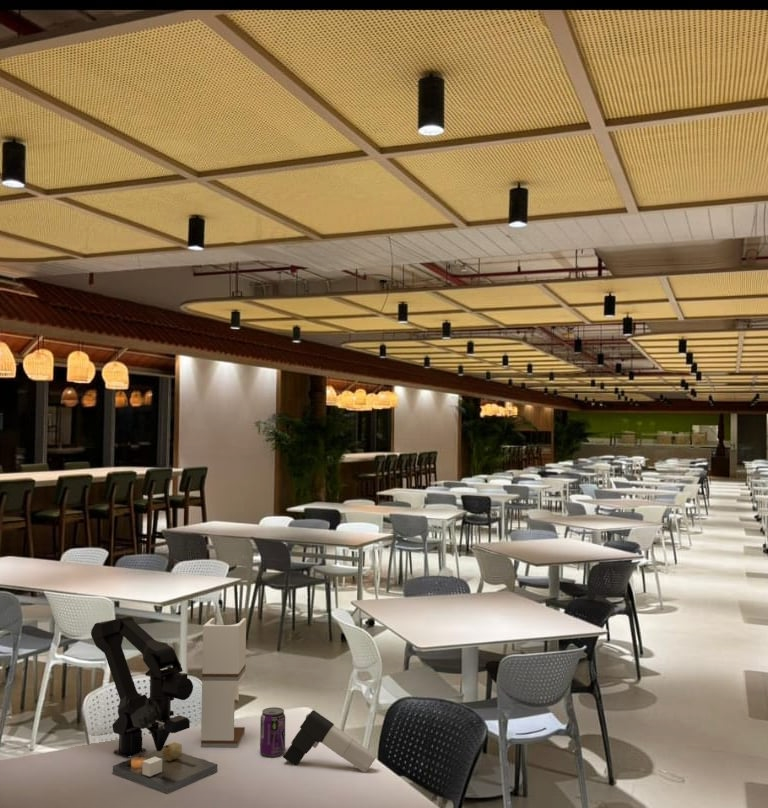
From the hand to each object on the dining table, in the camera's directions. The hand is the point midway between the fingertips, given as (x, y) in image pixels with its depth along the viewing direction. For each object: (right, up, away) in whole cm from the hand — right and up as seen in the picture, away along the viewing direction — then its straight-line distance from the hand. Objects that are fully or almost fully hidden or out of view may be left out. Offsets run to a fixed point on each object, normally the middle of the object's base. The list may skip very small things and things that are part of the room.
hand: (159, 750), depth 220 cm
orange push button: (-3, -2, -8) cm, 9 cm away
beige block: (+2, 0, -14) cm, 14 cm away
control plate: (+4, -3, -8) cm, 9 cm away
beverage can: (+31, -4, +6) cm, 32 cm away
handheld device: (+48, -3, -3) cm, 48 cm away
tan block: (+5, 0, -3) cm, 5 cm away
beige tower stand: (+15, -4, +16) cm, 22 cm away
